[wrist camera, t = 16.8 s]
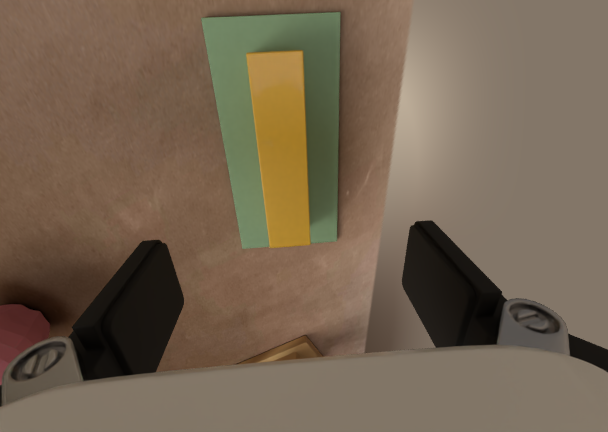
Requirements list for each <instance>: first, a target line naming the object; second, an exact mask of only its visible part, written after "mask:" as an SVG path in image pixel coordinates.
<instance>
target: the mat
mask: <svg viewBox="0 0 608 432" xmlns="http://www.w3.org/2000/svg"><path fill="white" fill-rule="evenodd" d="M201 20H202V25H203V31H204V36H205V42H206V48H207V53H208V59H209V64H210V70H211V75H212V81H213V87H214V92H215V98H216V103H217V109H218V114H219V120H220V125H221V131H222V137H223V142H224V148H225V153H226V159H227V164H228V170H229V176H230V181H231V187H232V192H233V198H234V203H235V209H236V215H237V220H238V226H239V231H240V237H241V242H242V248H243V249H245V248H258V247H270V246H269V238H268V229H267V221H266V213H265V205H264V197H263V189H262V180H261V172H260V164H259V156H258V148H257V140H256V132H255V123H254V115H253V107H252V99H251V91H250V83H249V74H248V66H247V58H246V53H249V52H271V51H292V50H303V55H304V82H305V108H306V134H307V161H308V187H309V213H310V240H311V243H321V242H334V241H337V204H338V137H339V71H340V12H328V13H304V14H281V15H257V16H233V17H209V18H201Z"/></svg>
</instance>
